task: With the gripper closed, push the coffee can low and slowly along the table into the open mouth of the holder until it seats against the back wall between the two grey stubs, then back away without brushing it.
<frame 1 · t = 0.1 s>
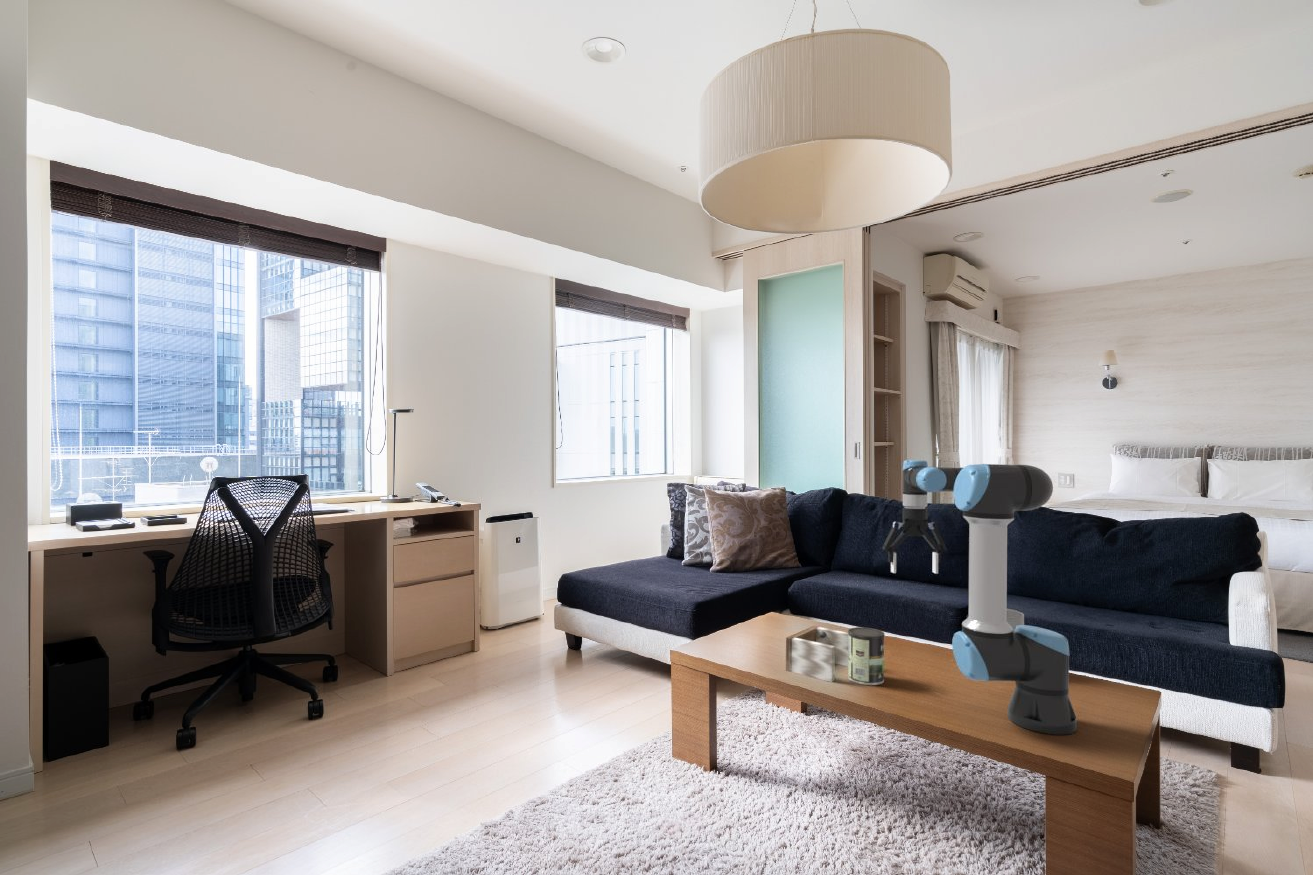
hand: (914, 572, 218), 28 cm above the table, fingers open, 13 cm apart
planter: (1000, 669, 209), on the table
holder: (824, 669, 207), on the table
coffee can: (865, 679, 198), on the table
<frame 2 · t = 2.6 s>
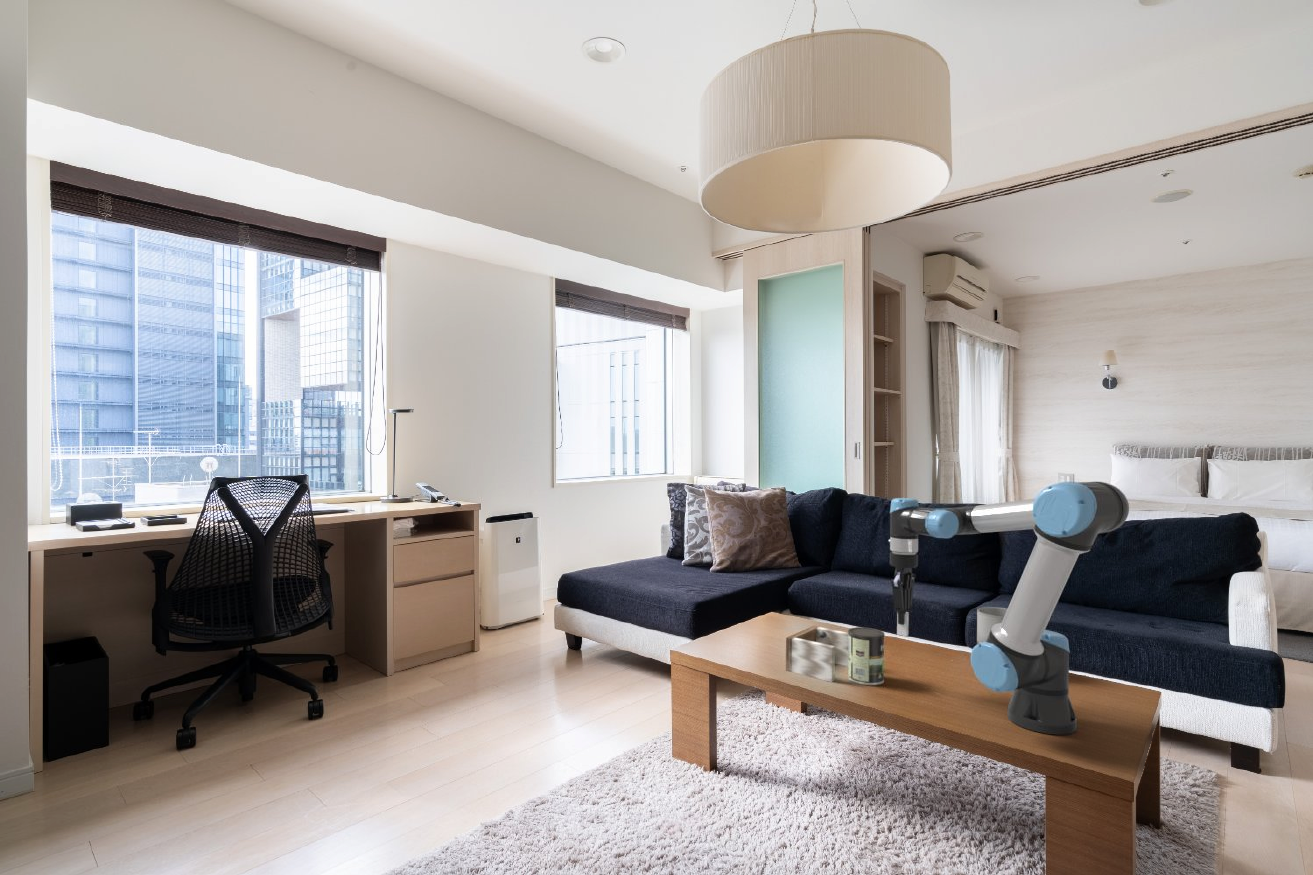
hand: (902, 634, 192), 15 cm above the table, fingers closed
nothing on the table moved.
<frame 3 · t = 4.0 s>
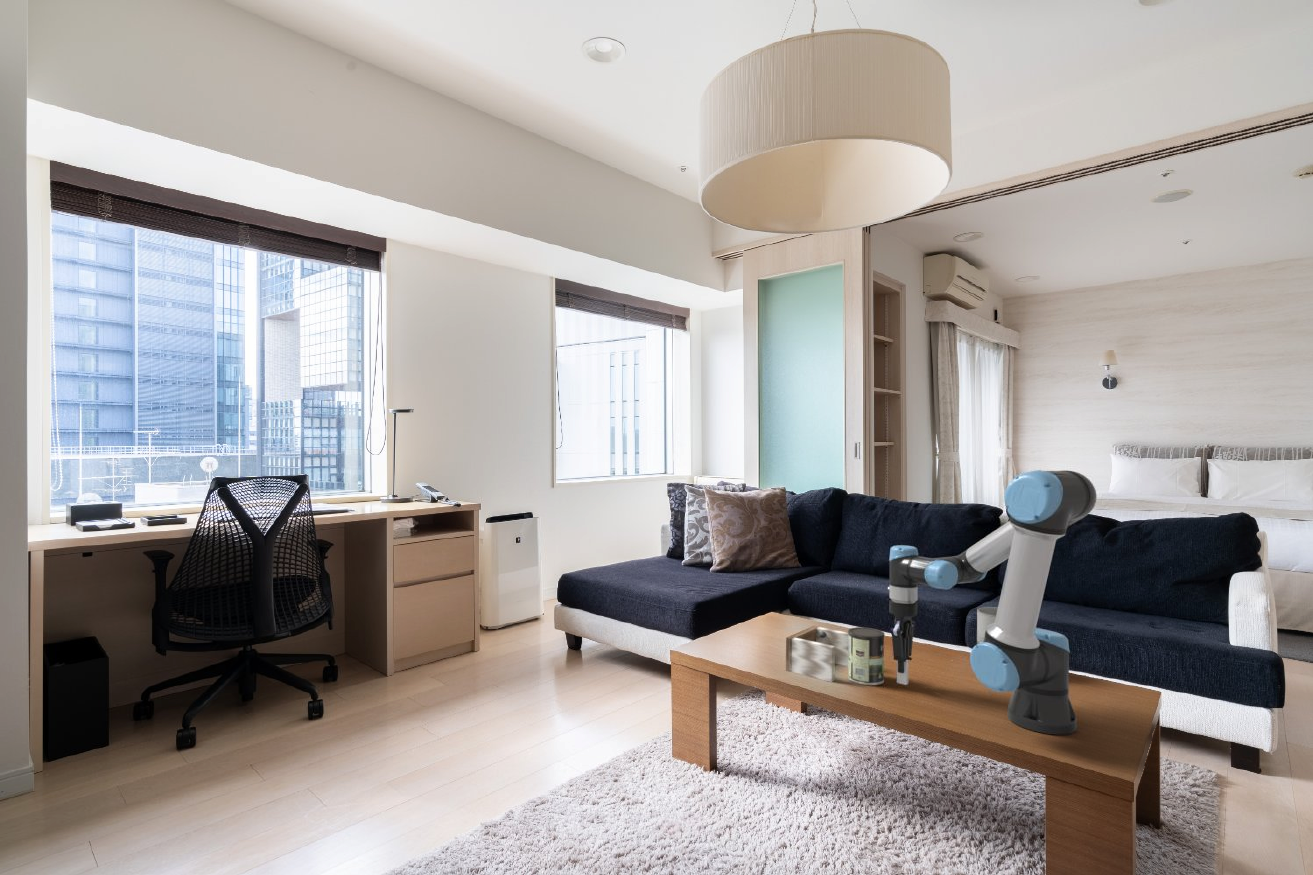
hand: (902, 682, 191), 1 cm above the table, fingers closed
nothing on the table moved.
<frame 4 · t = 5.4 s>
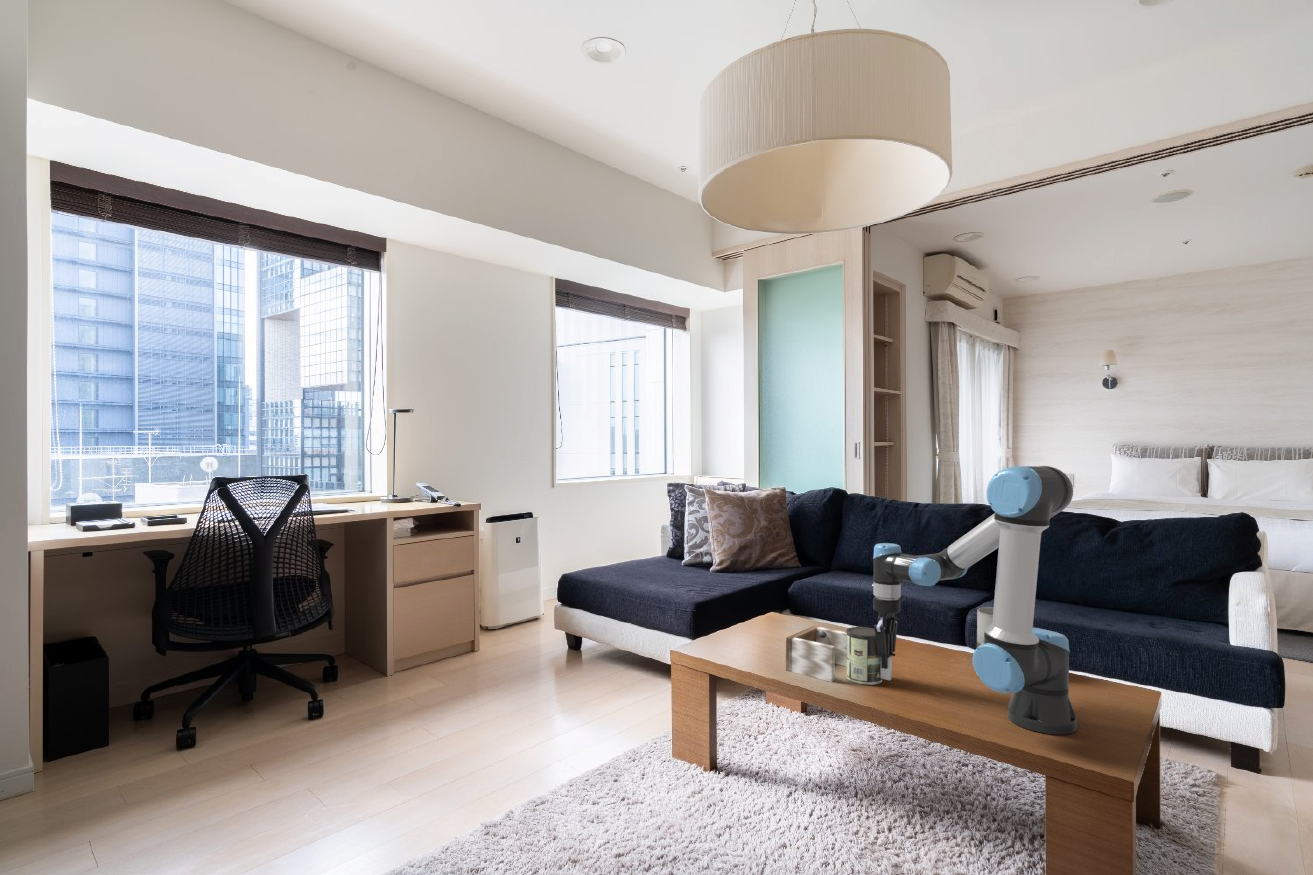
hand: (886, 678, 194), 2 cm above the table, fingers closed
nothing on the table moved.
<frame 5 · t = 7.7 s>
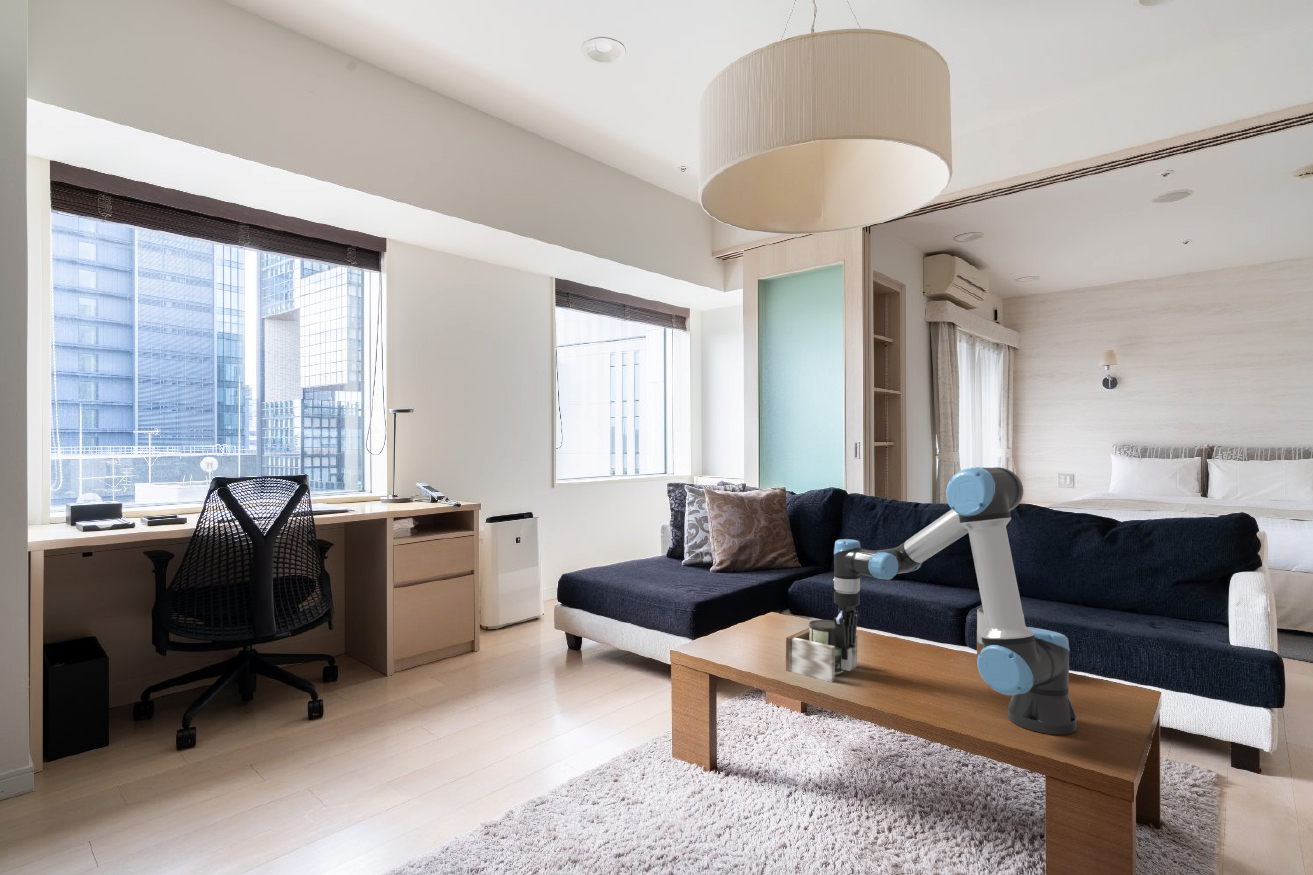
hand: (846, 669, 202), 2 cm above the table, fingers closed
coffee can: (825, 670, 206), on the table, touching gripper
everything else where it was.
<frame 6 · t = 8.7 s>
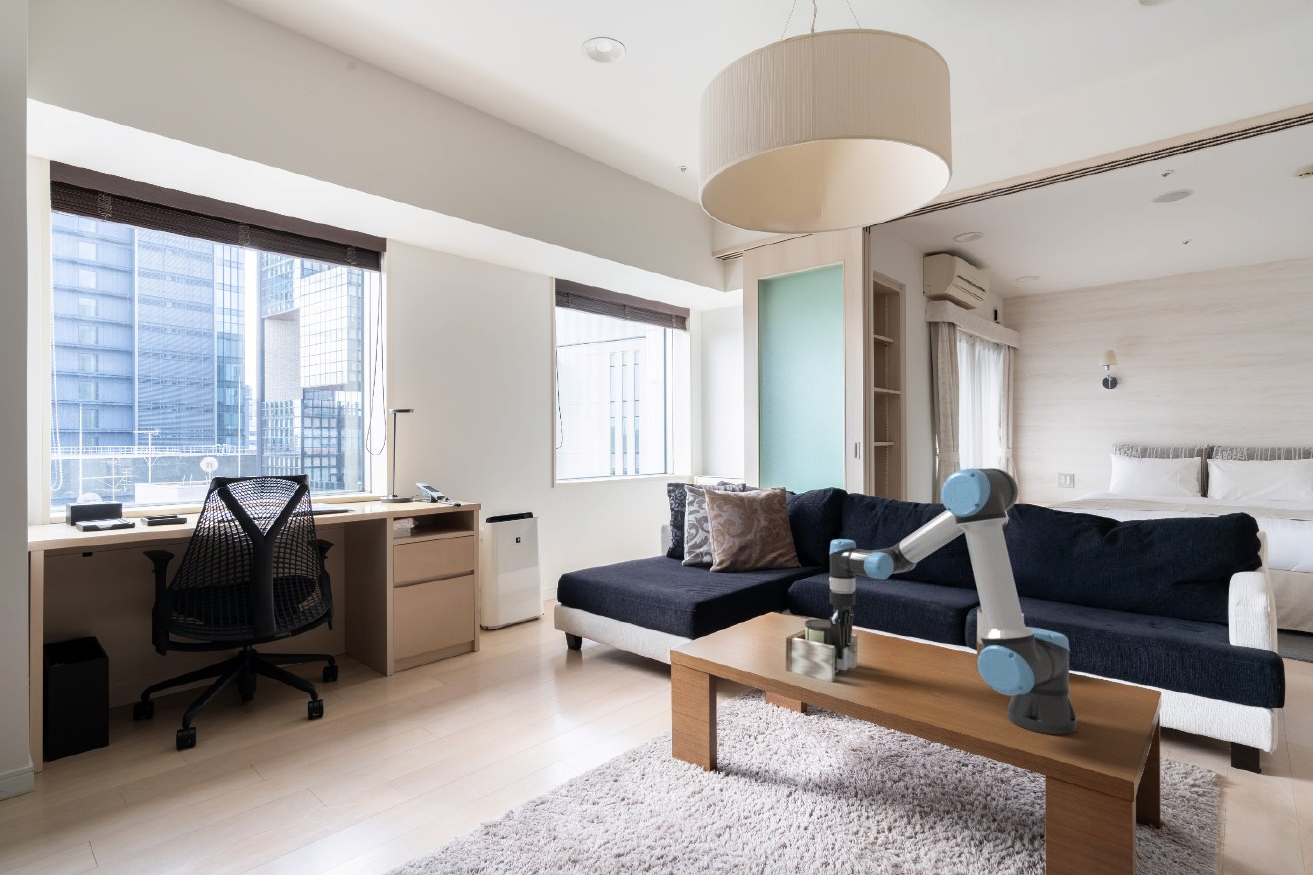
hand: (841, 668, 203), 1 cm above the table, fingers closed
coffee can: (821, 669, 207), on the table, touching gripper
everything else where it was.
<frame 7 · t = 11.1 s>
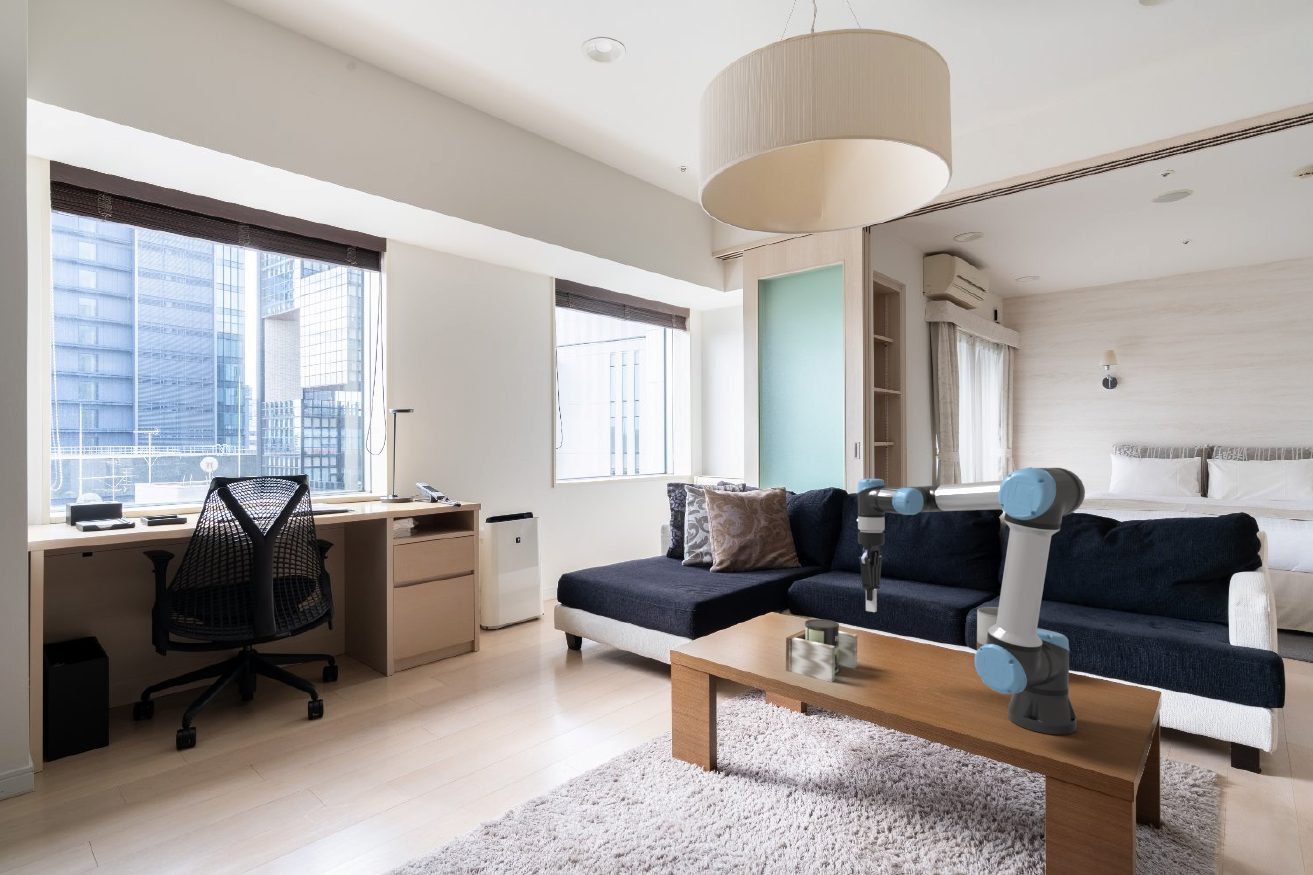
hand: (871, 610, 198), 20 cm above the table, fingers closed
coffee can: (821, 669, 207), on the table
everything else where it was.
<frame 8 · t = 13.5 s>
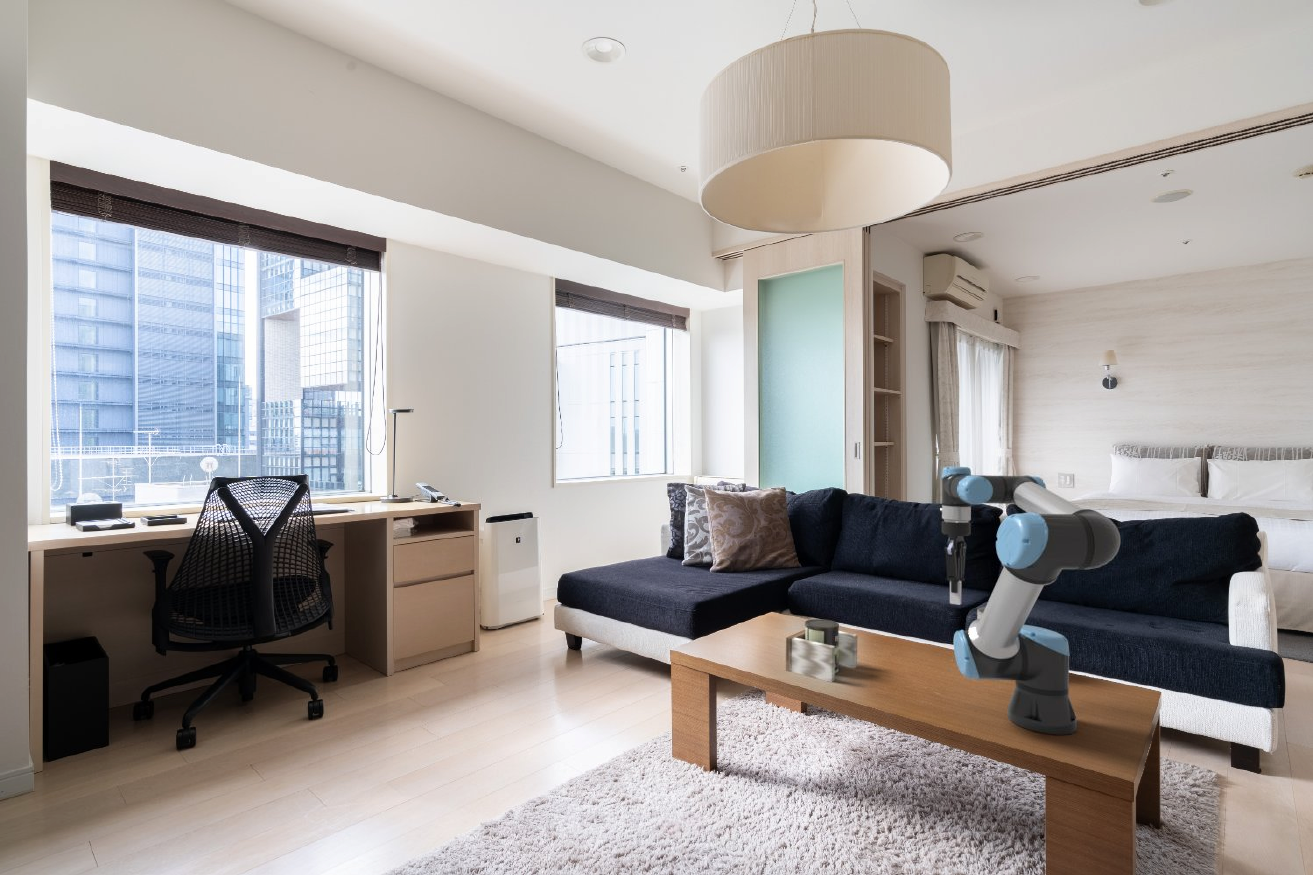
hand: (955, 603, 191), 24 cm above the table, fingers closed
nothing on the table moved.
at the end: coffee can 1.1 cm from the holder (horizontally); coffee can tilted 0°; coffee can moved 14.1 cm from its start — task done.
